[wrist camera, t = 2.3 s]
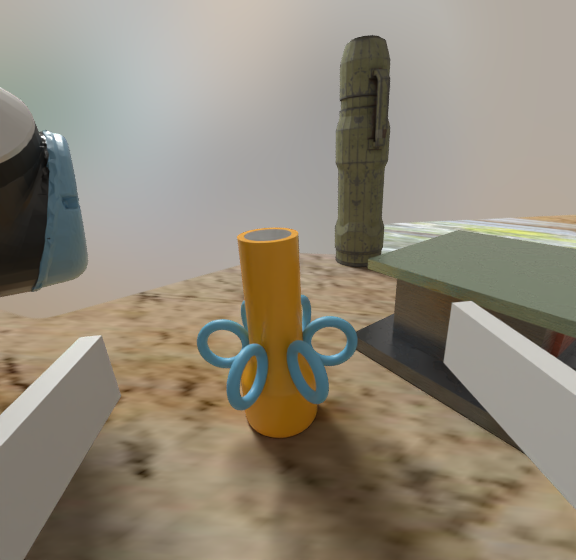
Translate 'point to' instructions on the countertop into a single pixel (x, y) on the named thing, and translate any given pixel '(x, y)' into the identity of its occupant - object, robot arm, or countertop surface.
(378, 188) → the thermos
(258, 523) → the countertop surface
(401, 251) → the grey green pedestal stand
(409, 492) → the countertop surface
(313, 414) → the cylinder
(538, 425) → the robot arm
